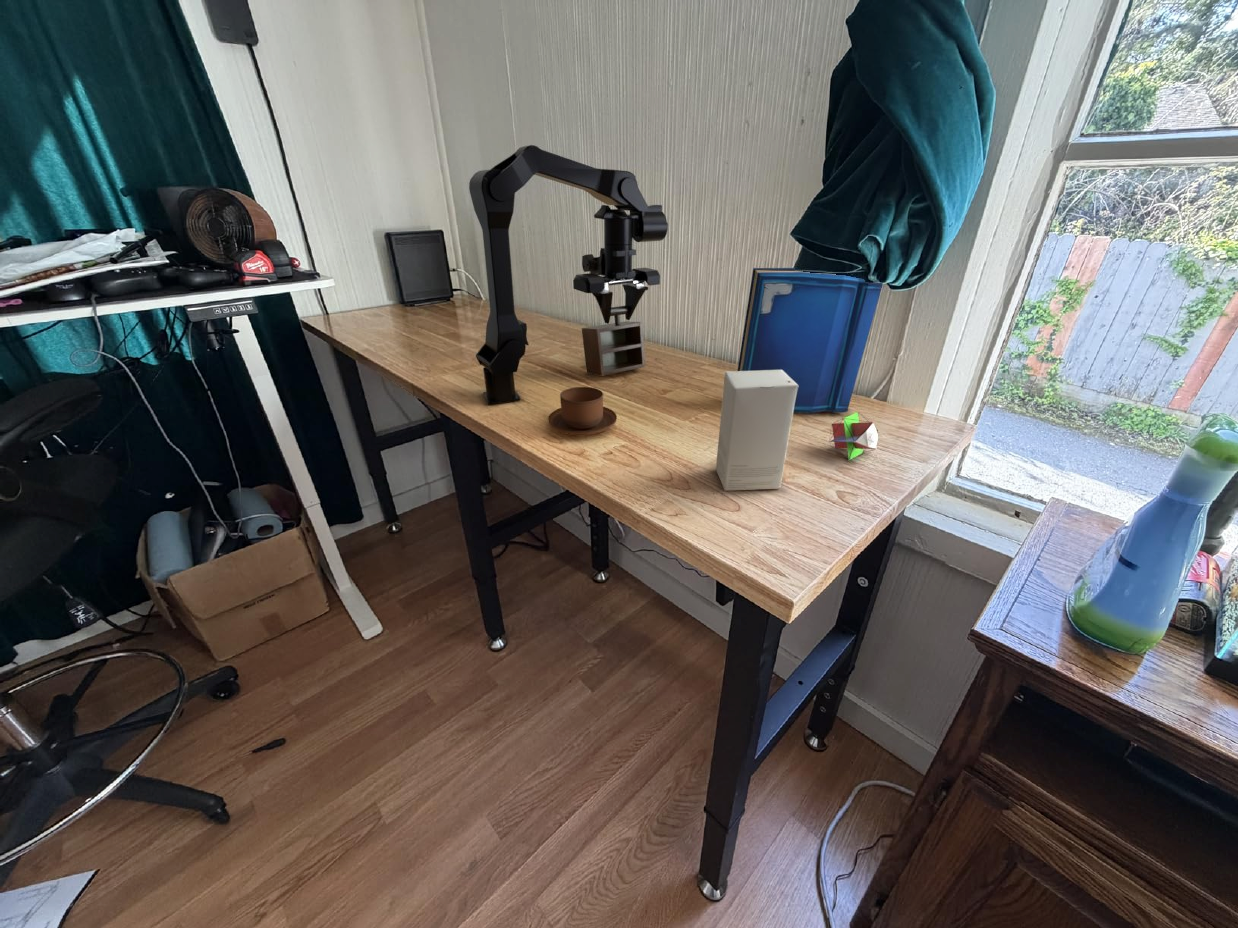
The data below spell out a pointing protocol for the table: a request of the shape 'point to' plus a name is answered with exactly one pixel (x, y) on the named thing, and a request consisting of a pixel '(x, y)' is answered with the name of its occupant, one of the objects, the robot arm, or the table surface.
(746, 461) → the cosmetic box
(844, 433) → the geometric puzzle
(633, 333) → the shelf
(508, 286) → the robot arm
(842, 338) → the book
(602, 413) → the cup and saucer
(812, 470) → the table surface
